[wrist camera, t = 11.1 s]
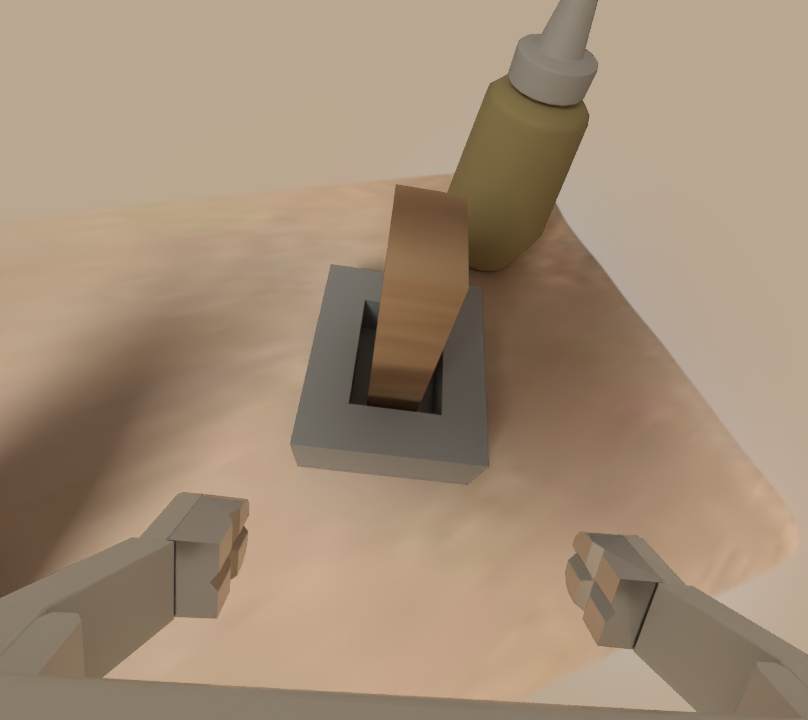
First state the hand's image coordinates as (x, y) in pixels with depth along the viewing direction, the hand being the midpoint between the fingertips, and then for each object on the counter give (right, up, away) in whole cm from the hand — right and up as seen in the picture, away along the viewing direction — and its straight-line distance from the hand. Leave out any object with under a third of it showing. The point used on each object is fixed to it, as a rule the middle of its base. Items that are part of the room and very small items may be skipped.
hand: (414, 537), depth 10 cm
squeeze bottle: (+6, +14, +24) cm, 29 cm away
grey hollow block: (-1, +3, +16) cm, 17 cm away
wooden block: (-1, +3, +16) cm, 16 cm away
